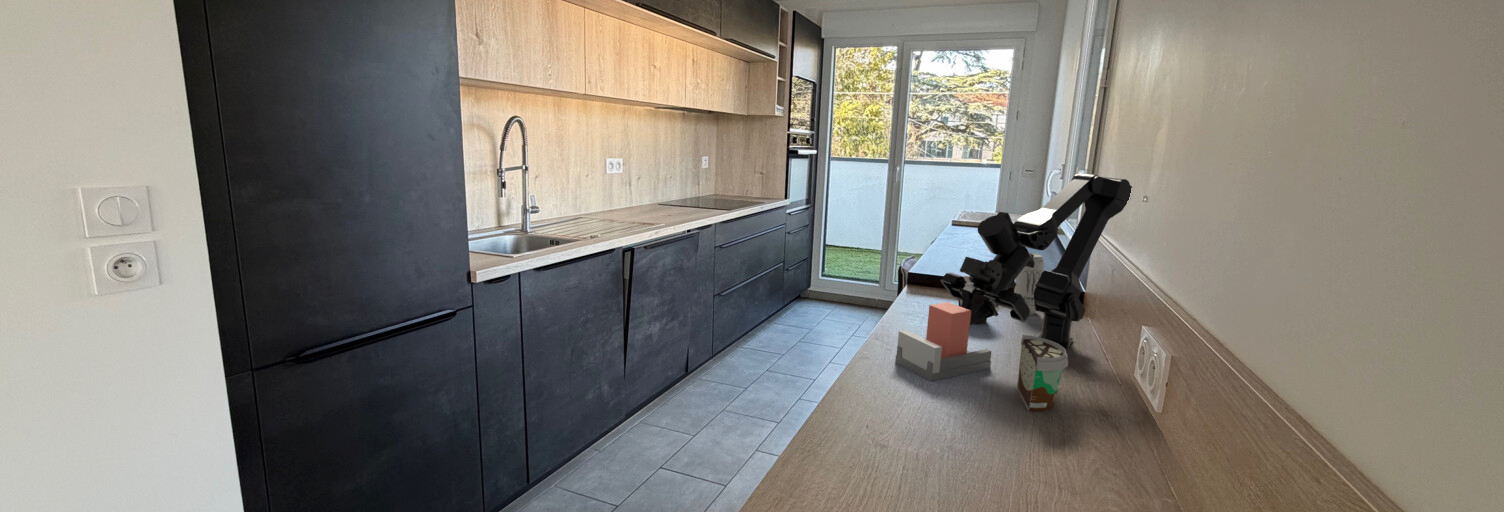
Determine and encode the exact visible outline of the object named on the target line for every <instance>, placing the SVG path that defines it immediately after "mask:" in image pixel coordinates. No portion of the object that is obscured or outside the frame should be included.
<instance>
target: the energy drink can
mask: <svg viewBox="0 0 1504 512" xmlns="http://www.w3.org/2000/svg"><path fill="white" fill-rule="evenodd" d="M1029 253H1030V254H1033V255H1034V256H1033V259H1034V262H1035V264H1034V268H1031V267H1027V266H1025V267H1024V268H1023V270H1022V271H1021V272H1020V274H1019V275H1018V276H1017V278H1016V279H1015V283H1016V284H1017V285H1016V286H1015V287H1014V289H1013V291H1014V293H1018V294H1021V296H1022V297H1023V299H1024V301H1025V302H1026V304H1027V305H1028V307H1029V308H1030V313H1029V316H1033V315H1035V314H1036V312H1037V311H1036V310H1035V303H1034V296H1033V293H1034V289H1035V288H1036V286H1035V285H1036V283H1037V282H1038V281H1039V279H1040V276H1041V274H1042V272H1043V271H1044V267H1045V261H1044V259H1043V255H1042V254H1040V253H1039V254H1038V253H1034V252H1033V253H1032V252H1029Z"/></svg>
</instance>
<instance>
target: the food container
mask: <svg viewBox="0 0 1504 512" xmlns="http://www.w3.org/2000/svg"><path fill="white" fill-rule="evenodd" d="M1020 345H1021V347H1020V357H1019V365H1018V367H1019V368H1018V375H1017V376H1018V377H1017V387H1016V390H1017V391H1018V393H1019V396H1020V397H1021V399H1022V401H1023V404H1024V405H1025V407H1026V409H1027V411H1028V412H1032V413H1038V412H1039V413H1041V412H1048V411H1051V410H1052V409H1054V406H1055V401H1056V398H1057V393H1058V389H1059V386H1060V381H1061V377H1062V373H1063V370H1064V369H1066V368H1067V367H1068V366H1069V360H1068V359H1069V357H1068V353H1067V350H1066V349H1065V347H1062V346H1061V345H1059V344H1057V343H1055V342H1053V341H1050V340H1047V339H1044V338H1040V337H1038V336H1035V335H1029V334H1028V335H1027V334H1023V335H1022V337H1021V341H1020Z"/></svg>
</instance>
